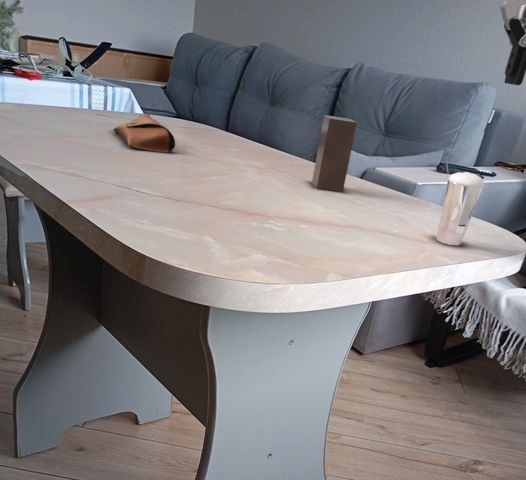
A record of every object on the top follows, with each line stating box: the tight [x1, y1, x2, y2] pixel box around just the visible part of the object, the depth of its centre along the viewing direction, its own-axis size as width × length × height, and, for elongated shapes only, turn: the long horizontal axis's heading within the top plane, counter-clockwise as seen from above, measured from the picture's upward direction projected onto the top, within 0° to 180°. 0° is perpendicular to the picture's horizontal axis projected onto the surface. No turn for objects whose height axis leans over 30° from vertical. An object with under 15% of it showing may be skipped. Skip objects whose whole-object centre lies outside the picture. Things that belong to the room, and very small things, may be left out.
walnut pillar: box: [311, 114, 358, 193], centre depth 101 cm, size 4×4×11 cm
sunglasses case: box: [112, 113, 176, 153], centre depth 115 cm, size 18×7×7 cm
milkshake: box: [435, 160, 485, 247], centre depth 80 cm, size 4×5×10 cm
